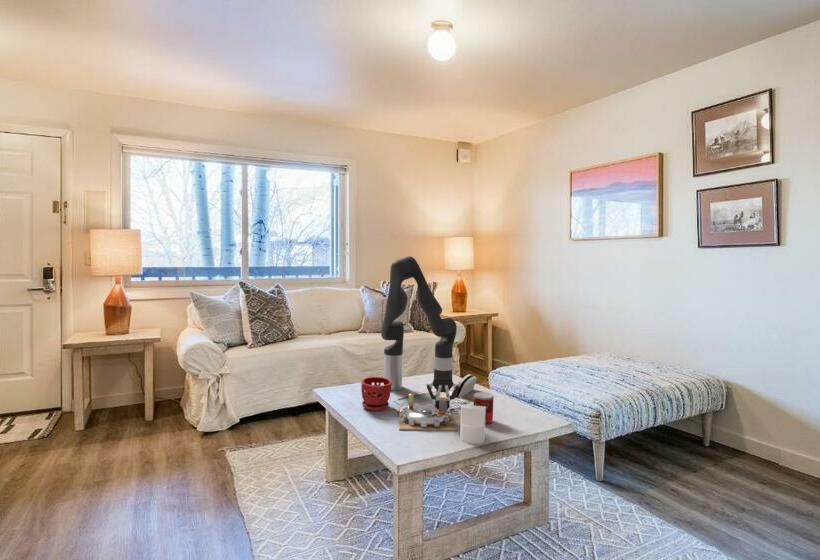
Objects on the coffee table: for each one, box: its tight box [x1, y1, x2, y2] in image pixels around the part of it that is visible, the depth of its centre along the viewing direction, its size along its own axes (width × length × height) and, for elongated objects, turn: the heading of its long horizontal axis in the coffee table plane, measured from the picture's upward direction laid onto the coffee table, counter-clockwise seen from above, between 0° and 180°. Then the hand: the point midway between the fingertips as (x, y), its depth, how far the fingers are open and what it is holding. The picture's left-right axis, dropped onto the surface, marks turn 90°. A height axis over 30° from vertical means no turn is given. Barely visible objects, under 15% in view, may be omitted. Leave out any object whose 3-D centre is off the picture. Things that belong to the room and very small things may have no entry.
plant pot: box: [360, 376, 392, 412], centre depth 204 cm, size 13×13×12 cm
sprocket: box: [401, 392, 453, 427], centre depth 191 cm, size 20×20×8 cm
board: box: [398, 408, 457, 432], centre depth 192 cm, size 22×22×1 cm
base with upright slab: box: [459, 404, 486, 445], centre depth 174 cm, size 9×9×12 cm
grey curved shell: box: [455, 373, 478, 398], centre depth 227 cm, size 17×5×10 cm, turn 151°
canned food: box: [473, 391, 494, 426], centre depth 191 cm, size 8×8×11 cm
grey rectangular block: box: [438, 397, 447, 412], centre depth 191 cm, size 6×3×4 cm, turn 1°
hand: (442, 408), depth 191 cm, fingers closed on grey rectangular block, 3 cm apart
